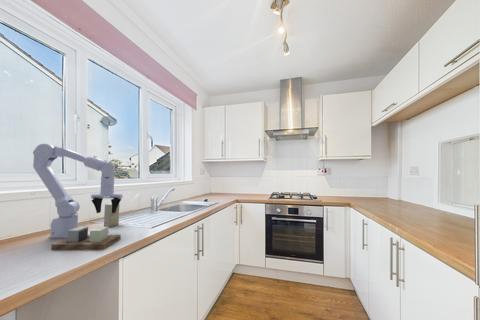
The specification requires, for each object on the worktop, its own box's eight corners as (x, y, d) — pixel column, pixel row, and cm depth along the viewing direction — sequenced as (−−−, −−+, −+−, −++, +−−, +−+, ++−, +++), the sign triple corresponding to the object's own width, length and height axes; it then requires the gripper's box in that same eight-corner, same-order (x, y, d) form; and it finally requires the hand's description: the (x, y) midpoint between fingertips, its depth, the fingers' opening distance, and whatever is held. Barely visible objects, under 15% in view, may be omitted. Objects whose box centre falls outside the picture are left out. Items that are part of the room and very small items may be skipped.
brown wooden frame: (51, 249, 80) (51, 244, 80) (75, 239, 92) (75, 234, 92) (103, 249, 80) (104, 244, 80) (120, 239, 92) (120, 234, 92)
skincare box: (110, 227, 112) (111, 204, 113) (103, 226, 113) (104, 204, 114) (119, 224, 118) (119, 202, 119) (112, 223, 119) (113, 202, 120)
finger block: (88, 247, 83) (89, 230, 83) (98, 242, 89) (99, 226, 89) (98, 247, 83) (99, 230, 83) (107, 241, 89) (108, 226, 89)
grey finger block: (67, 246, 83) (68, 230, 83) (78, 241, 89) (79, 226, 89) (77, 246, 83) (78, 230, 83) (88, 241, 89) (88, 226, 89)
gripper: (87, 186, 101) (86, 214, 100) (117, 186, 101) (116, 214, 101) (96, 185, 108) (95, 211, 107) (124, 185, 108) (123, 211, 108)
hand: (106, 212), depth 104 cm, fingers open, 7 cm apart
